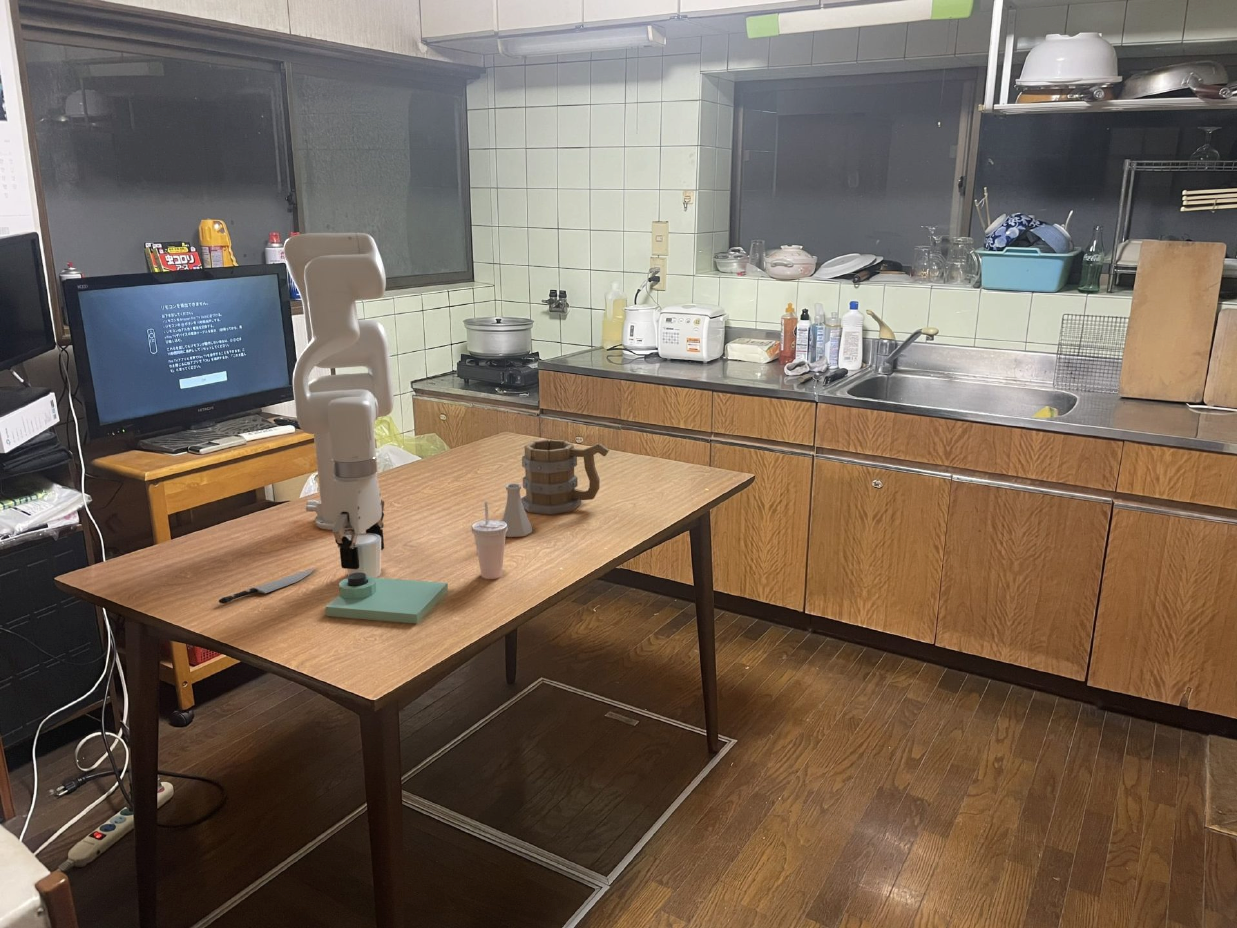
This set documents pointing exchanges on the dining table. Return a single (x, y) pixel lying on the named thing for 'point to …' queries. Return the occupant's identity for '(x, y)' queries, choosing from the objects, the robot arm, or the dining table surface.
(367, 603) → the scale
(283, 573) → the dining table surface
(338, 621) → the dining table surface
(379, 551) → the white tapered cup
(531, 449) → the tankard
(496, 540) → the smoothie
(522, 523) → the flask
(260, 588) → the chef's knife
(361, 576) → the button
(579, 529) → the dining table surface
